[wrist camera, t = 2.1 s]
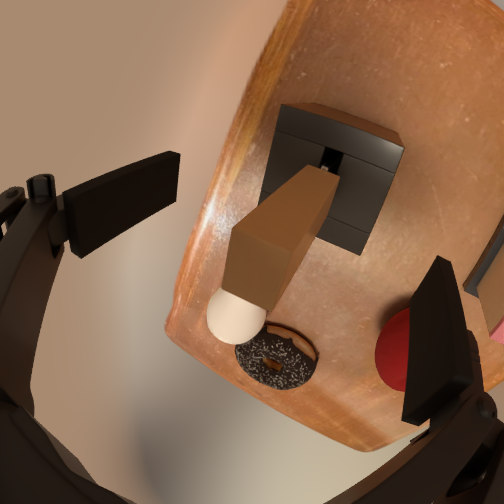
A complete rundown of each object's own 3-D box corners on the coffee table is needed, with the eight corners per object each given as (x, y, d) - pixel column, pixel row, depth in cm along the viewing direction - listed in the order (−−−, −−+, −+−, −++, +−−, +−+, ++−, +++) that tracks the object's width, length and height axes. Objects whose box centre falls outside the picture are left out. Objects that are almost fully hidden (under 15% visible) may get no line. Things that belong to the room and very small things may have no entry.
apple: (463, 298, 25) (475, 367, 18) (440, 354, 30) (439, 421, 22) (387, 287, 29) (378, 355, 21) (373, 345, 34) (359, 410, 26)
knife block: (313, 102, 24) (280, 103, 17) (398, 133, 22) (405, 147, 15) (292, 180, 28) (255, 212, 21) (369, 210, 26) (360, 256, 19)
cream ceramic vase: (243, 237, 34) (221, 293, 40) (211, 268, 29) (193, 326, 35) (296, 268, 33) (266, 320, 39) (274, 306, 28) (243, 357, 34)
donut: (308, 383, 42) (300, 403, 39) (239, 356, 46) (228, 374, 43) (327, 339, 36) (319, 361, 33) (244, 308, 40) (231, 327, 37)
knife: (336, 139, 24) (232, 221, 9) (357, 147, 23) (294, 247, 8) (327, 169, 25) (219, 293, 11) (347, 177, 25) (269, 317, 10)
